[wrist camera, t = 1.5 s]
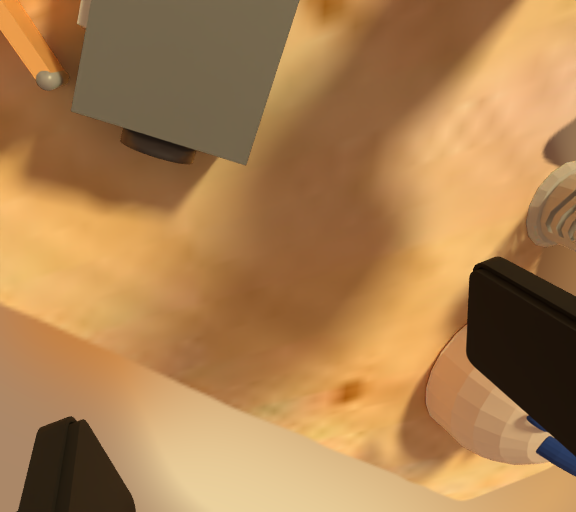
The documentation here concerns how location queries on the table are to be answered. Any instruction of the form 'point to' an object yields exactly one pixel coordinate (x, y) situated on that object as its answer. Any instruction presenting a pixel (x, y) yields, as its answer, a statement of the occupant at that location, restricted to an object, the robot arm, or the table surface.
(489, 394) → the kettle
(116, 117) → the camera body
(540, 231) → the french press
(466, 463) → the table surface
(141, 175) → the table surface
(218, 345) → the table surface
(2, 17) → the side door
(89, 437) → the robot arm
